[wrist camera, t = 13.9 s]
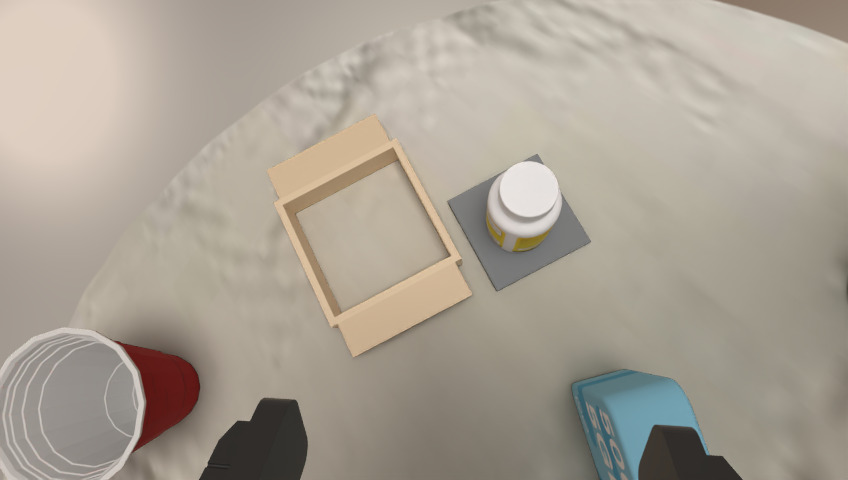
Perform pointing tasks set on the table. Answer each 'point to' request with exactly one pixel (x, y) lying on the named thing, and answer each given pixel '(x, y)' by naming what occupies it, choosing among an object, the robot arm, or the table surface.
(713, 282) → the table surface
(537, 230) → the supplement bottle
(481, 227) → the coaster
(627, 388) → the data package
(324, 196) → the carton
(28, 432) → the plastic cup
